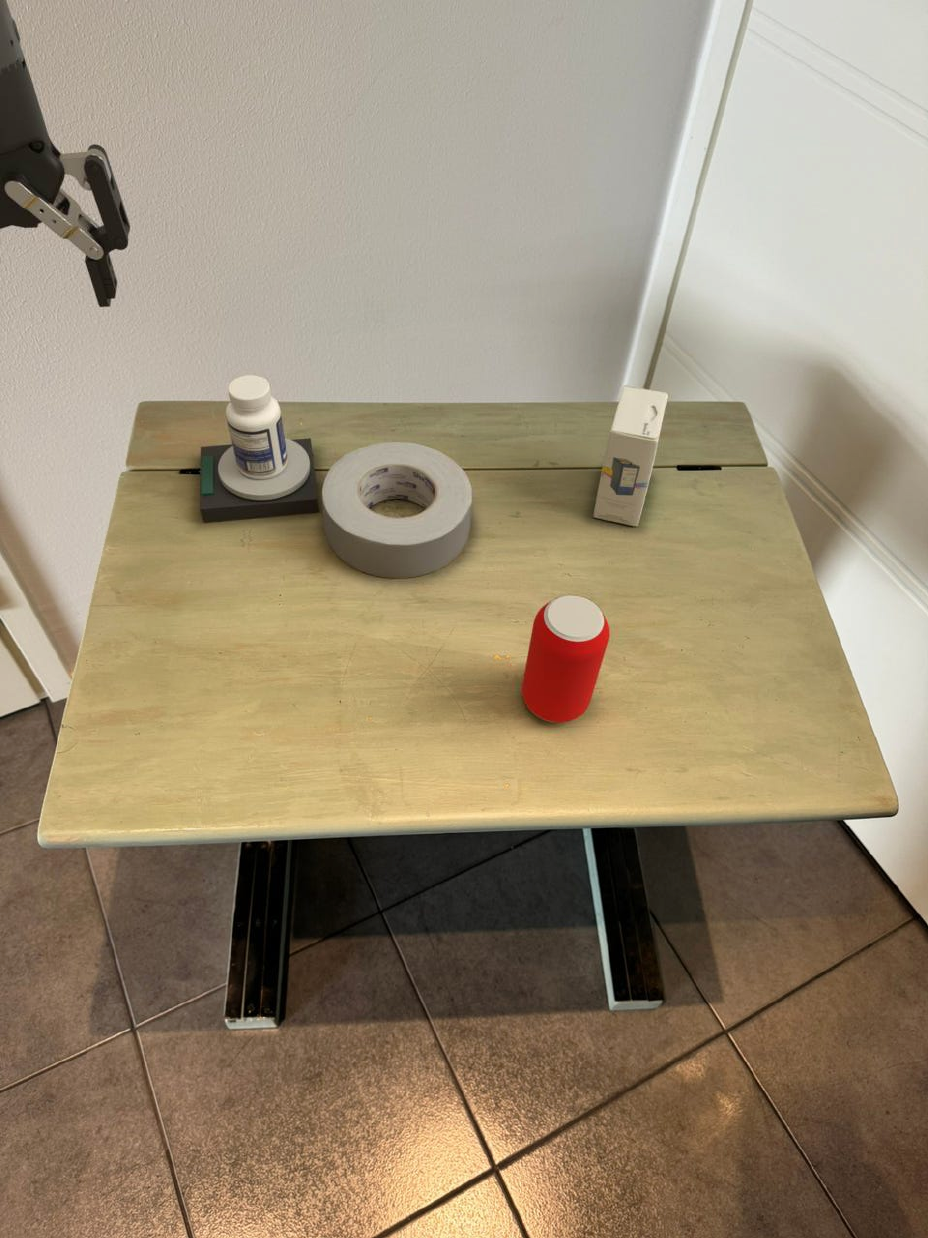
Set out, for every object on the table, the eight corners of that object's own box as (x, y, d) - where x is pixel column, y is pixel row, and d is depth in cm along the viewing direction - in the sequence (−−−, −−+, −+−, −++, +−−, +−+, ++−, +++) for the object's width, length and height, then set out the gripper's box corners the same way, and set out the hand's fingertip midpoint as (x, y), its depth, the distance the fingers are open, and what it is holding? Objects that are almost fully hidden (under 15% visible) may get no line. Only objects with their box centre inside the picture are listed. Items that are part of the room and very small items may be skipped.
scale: (203, 523, 87) (197, 501, 85) (204, 460, 93) (198, 439, 91) (319, 512, 89) (316, 491, 87) (312, 451, 95) (310, 430, 93)
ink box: (636, 528, 90) (662, 441, 81) (589, 518, 90) (610, 430, 81) (647, 478, 95) (672, 391, 86) (603, 468, 96) (623, 381, 87)
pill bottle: (262, 440, 91) (248, 363, 84) (298, 461, 89) (288, 384, 82) (226, 466, 88) (208, 388, 81) (263, 487, 86) (249, 410, 79)
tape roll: (497, 518, 90) (502, 482, 86) (409, 602, 82) (409, 568, 78) (387, 458, 95) (386, 421, 91) (293, 532, 87) (288, 496, 83)
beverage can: (530, 664, 78) (546, 578, 68) (595, 683, 77) (620, 598, 67) (512, 717, 74) (526, 633, 65) (580, 737, 73) (605, 656, 64)
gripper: (-203, 73, 45) (-70, 339, 58) (73, 71, 47) (143, 327, 60) (-165, 27, 50) (-49, 282, 62) (85, 26, 52) (148, 273, 65)
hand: (45, 304), depth 61 cm, fingers open, 8 cm apart
